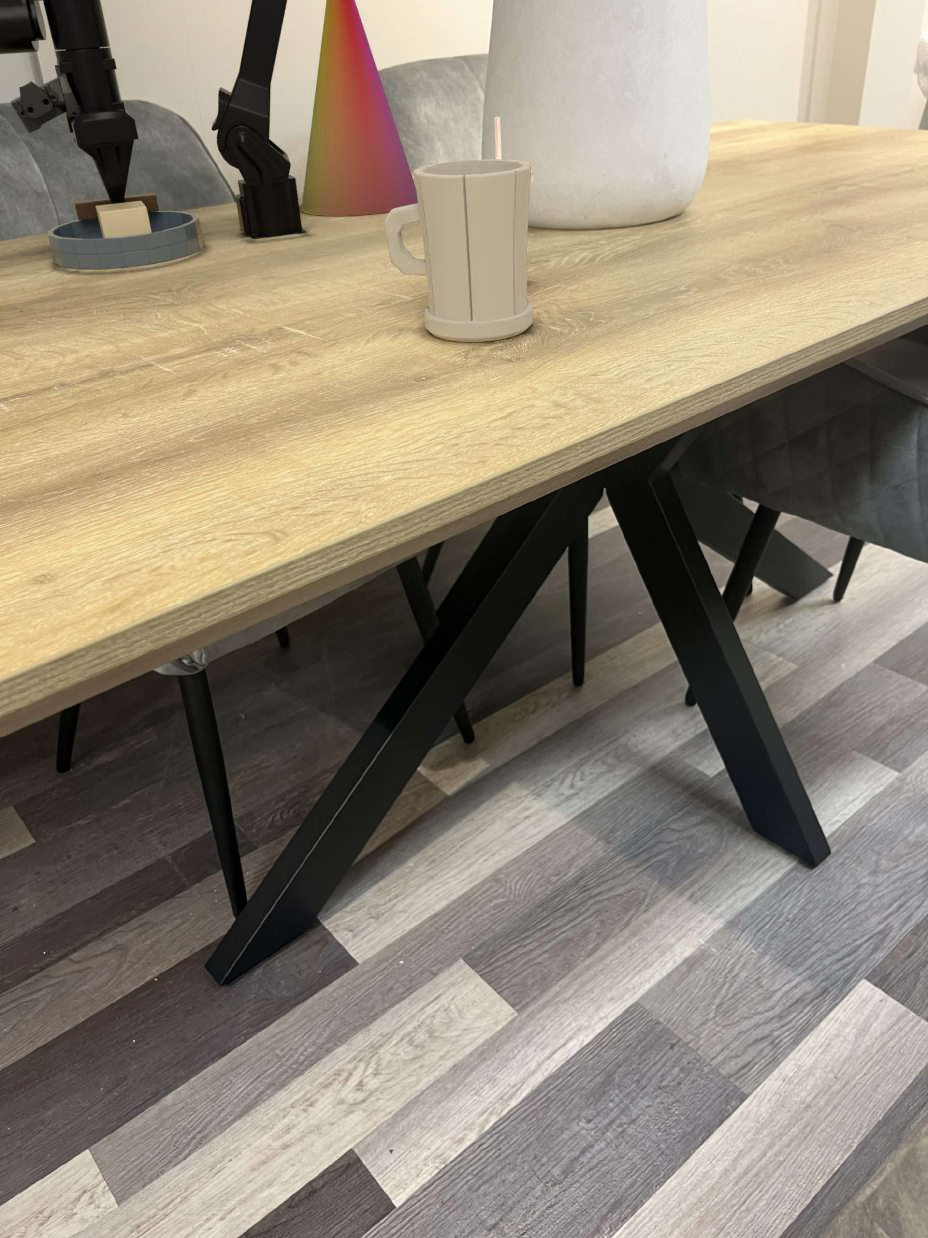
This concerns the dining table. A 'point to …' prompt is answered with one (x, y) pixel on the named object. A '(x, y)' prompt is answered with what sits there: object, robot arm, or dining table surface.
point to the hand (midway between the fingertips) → (117, 205)
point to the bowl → (126, 242)
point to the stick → (88, 207)
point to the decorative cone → (352, 128)
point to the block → (123, 219)
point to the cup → (469, 247)
